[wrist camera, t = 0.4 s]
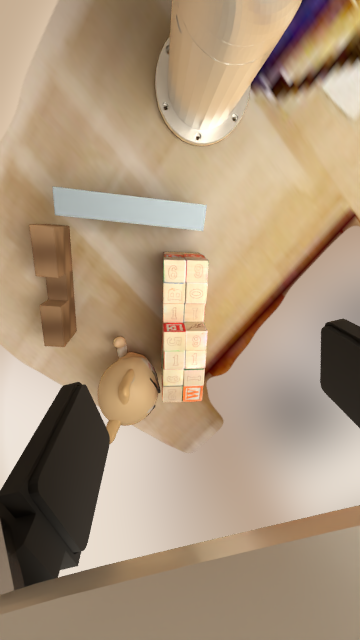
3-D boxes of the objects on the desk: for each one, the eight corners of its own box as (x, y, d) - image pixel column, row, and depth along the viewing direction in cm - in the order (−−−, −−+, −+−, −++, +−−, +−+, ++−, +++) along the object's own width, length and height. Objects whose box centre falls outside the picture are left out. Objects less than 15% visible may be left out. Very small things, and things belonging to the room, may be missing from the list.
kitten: (146, 399, 51) (142, 465, 37) (99, 388, 49) (76, 454, 35) (169, 340, 46) (173, 391, 32) (117, 326, 44) (99, 373, 30)
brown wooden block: (48, 224, 36) (29, 224, 31) (69, 226, 37) (53, 226, 31) (59, 330, 43) (44, 345, 37) (76, 331, 43) (64, 346, 38)
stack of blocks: (162, 250, 39) (164, 262, 28) (199, 252, 40) (215, 263, 29) (161, 360, 47) (161, 404, 36) (191, 360, 48) (202, 402, 37)
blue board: (78, 217, 36) (55, 215, 28) (77, 195, 35) (52, 186, 27) (193, 229, 38) (203, 230, 30) (195, 209, 37) (206, 205, 29)
